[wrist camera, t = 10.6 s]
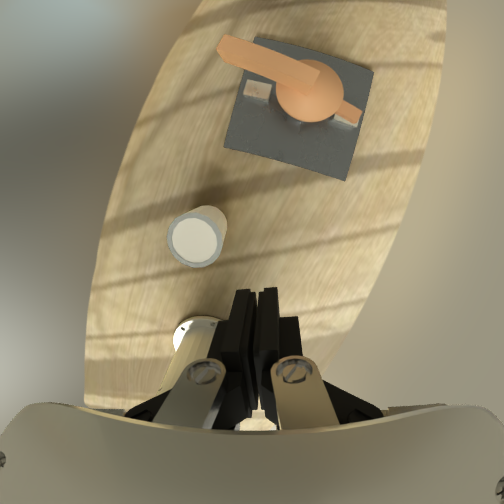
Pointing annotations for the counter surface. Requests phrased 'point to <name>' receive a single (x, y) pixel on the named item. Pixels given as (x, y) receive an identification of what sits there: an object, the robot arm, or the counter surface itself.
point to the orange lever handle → (293, 80)
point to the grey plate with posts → (290, 129)
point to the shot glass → (197, 236)
